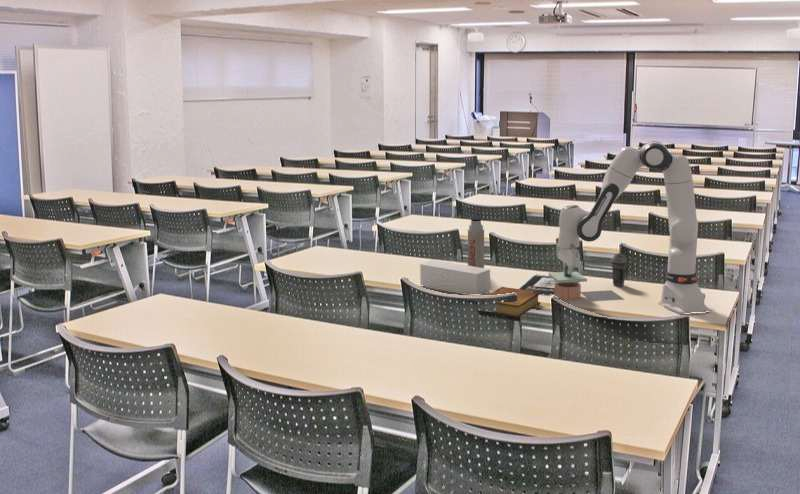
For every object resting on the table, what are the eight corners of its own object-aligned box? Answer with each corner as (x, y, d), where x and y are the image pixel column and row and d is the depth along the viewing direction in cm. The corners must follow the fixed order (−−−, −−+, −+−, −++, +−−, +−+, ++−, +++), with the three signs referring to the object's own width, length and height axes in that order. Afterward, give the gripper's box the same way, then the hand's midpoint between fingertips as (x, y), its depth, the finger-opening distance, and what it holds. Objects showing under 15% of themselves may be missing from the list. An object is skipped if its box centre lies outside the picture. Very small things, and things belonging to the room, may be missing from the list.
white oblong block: (489, 292, 374) (490, 269, 372) (476, 297, 366) (476, 274, 364) (434, 281, 394) (433, 259, 392) (420, 286, 386) (420, 264, 384)
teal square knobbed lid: (587, 281, 355) (587, 269, 354) (558, 282, 353) (558, 271, 352) (576, 274, 368) (577, 262, 366) (548, 275, 366) (548, 264, 365)
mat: (624, 300, 356) (624, 299, 356) (591, 302, 354) (591, 301, 354) (611, 291, 371) (611, 290, 370) (579, 293, 369) (579, 292, 368)
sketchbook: (516, 293, 373) (516, 289, 372) (535, 277, 399) (535, 273, 399) (563, 298, 363) (563, 293, 363) (579, 281, 390) (579, 277, 389)
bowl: (583, 300, 358) (584, 287, 356) (559, 301, 356) (559, 288, 355) (575, 293, 368) (575, 280, 367) (551, 294, 367) (551, 281, 366)
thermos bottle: (475, 276, 400) (475, 220, 394) (464, 273, 407) (464, 218, 400) (487, 274, 405) (487, 218, 399) (476, 271, 411) (476, 216, 405)
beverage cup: (625, 284, 382) (626, 242, 378) (627, 288, 375) (629, 246, 370) (609, 284, 383) (610, 242, 378) (611, 288, 376) (613, 245, 371)
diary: (500, 299, 364) (500, 286, 363) (539, 304, 355) (540, 291, 353) (477, 312, 345) (477, 298, 344) (518, 318, 336) (518, 304, 334)
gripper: (584, 247, 347) (583, 278, 350) (568, 237, 367) (567, 267, 370) (569, 247, 346) (568, 279, 349) (554, 237, 366) (553, 267, 369)
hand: (567, 273), depth 360 cm, fingers closed on teal square knobbed lid, 3 cm apart
